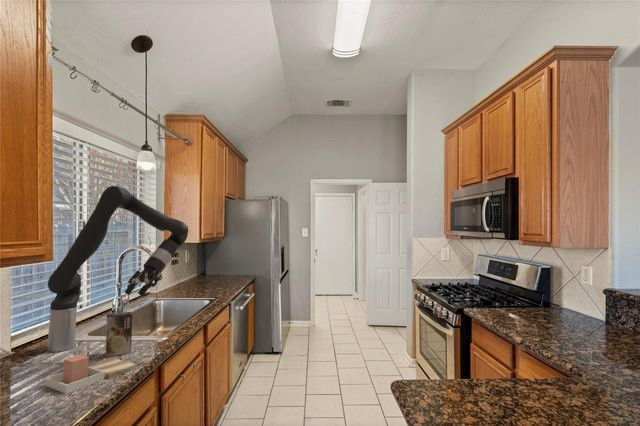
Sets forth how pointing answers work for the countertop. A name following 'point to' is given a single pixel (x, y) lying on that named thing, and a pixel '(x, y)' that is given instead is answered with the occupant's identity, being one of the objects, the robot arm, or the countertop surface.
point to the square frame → (66, 388)
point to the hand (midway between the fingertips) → (133, 294)
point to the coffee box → (118, 334)
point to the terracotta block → (75, 369)
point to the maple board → (113, 367)
